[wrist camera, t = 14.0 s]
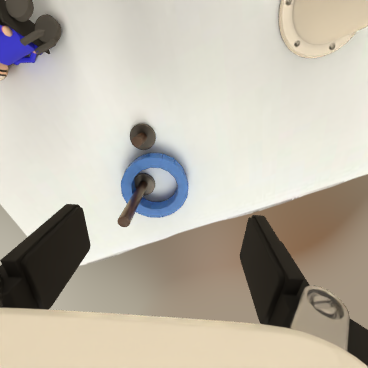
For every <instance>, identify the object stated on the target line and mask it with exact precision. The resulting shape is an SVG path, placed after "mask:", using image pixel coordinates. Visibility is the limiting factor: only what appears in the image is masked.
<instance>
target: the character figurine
mask: <svg viewBox="0 0 368 368" xmlns="http://www.w3.org/2000/svg"><path fill="white" fill-rule="evenodd" d="M33 9H34V7H33V2H32V0H6V1H5V0H0V81H1V80H3V79H4V78H5V77H6V76H7V74H8V65H11V64H15V65H19V64H20V63H30V62H32V63H34V62H35V59H36V55H37V54H38V55H41V54H42V53H43V52H46V53H48V54H50V51H49V49H50V48H52V47H54V46H55V45H56V43H57V42H58V40H59V39H60V37H61V27H60V24H59V23H58V22H57V21H56V20H55V19H54V18H53V17H52V16H50V15H42V16H40V17H39V18H38V19H37V21H36V23H35V24H34V23H32V22H31V21H30V20H29V18H30V17H31V16H32V14H33ZM30 53H31V54H30ZM28 54H30V57H25V56H26V55H28Z"/></svg>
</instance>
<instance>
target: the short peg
mask: <svg viewBox="0 0 368 368" xmlns="http://www.w3.org/2000/svg"><path fill="white" fill-rule="evenodd" d="M155 139H156V136H155V132H154V130H153V129H152V128H151V127H150V126H148V125H146V124H138V125H136V126H134V127H133V128H132V130H131V132H130V140H131V142H132V144H133V145H134V146H135V147H136V148H138V149H141V150H147V149H149V148H151V147H152V146H153V144H154V143H155Z"/></svg>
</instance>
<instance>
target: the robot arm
mask: <svg viewBox="0 0 368 368" xmlns="http://www.w3.org/2000/svg"><path fill="white" fill-rule="evenodd" d="M286 3H287V5H286ZM367 26H368V0H282V1H281V5H280V11H279V27H280V32H281V36H282V38H283V41H284V43H285V44H286V46H287V47H288V48H289V49H290V50H291V51H292V52H293V53H294V54H296V55H298V56H300V57H304V58H317V57H322V56H325V55H327V54H330V53H332V52H334V51H336V50H338V49H339V48H340V47H342V46H343V45H344V44H346V43H347V42H348V41H349V40H350V39H351V38H352V37H353V36H354V34H355V33H356V32H357V31H358V30H360V29H363V28H365V27H367ZM294 43H295V46H294ZM329 47H330V49H329ZM89 249H90V241H89V236H88V231H87V226H86V222H85V217H84V212H83V209H82V208H81V207H80V206H79V205H75V204H66V205H65V206H64V207H63V208H61V209H60V210H59V211H58V212H57V213H56V214H54V215H53V216H52V217H51V218H50V219H48V220H47V221H46V222H45V223H44V224H43V225H41V226H40V227H39V228H38V229H37V230H36V231H34V232H33V233H32V234H31V235H30V236H28V237H27V238H26V239H25V240H24V241H23V242H22V243H20V244H19V245H18V246H17V247H15V248H14V249H13V250H12V251H11V252H10V253H8V255H6V256H5V257H4V258H3V259H1V260H0V261H1V263H2V265H1V266H0V368H368V330H367V329H365V328H364V327H362V326H361V325H359V324H358V323H356V322H354V321H353V320H351V319H350V317H349V312H348V310H347V308H346V306H345V305H344V303H342V301H341V300H340V299H339V298H338V297H337V296H336V295H335V294H333V293H332V292H330V291H328V290H327V289H324V288H322V287H319V286H315V285H314V286H310V285H309V284H308V282H307V281H306V279H305V277H304V276H303V274H302V273H301V271H300V270H299V268H298V266H297V265H296V263H295V262H294V260H293V259H292V257H291V255H290V254H289V252H288V251H287V249H286V248H285V246H284V244H283V243H282V242H281V241H279V239H278V237H277V236H276V234H275V232H274V231H273V229H272V228H271V226H270V225H269V223H268V221H267V220H266V218H265V217H264V216H258V215H253V216H252V218H249V219H248V223H247V227H246V231H245V236H244V239H243V244H242V248H241V252H240V260H241V263H242V267H243V270H244V273H245V276H246V280H247V283H248V286H249V289H250V292H251V296H252V299H253V302H254V305H255V309H256V312H257V315H258V319H259V321H260V323H261V324H252V323H240V322H230V321H216V320H202V319H188V318H174V317H160V316H142V315H129V314H114V313H98V312H81V311H64V310H48V309H49V308H50V307H51V306H52V305H53V303H54V302H55V300H56V299H57V297H58V296H59V294H60V293H61V292H62V290H63V289H64V287H65V285H66V284H67V282H68V281H69V280H70V278H71V277H72V275H73V274H74V272H75V271H76V269H77V268H78V266H79V265H80V263H81V262H82V260H83V259H84V257H85V256H86V254H87V253H88V251H89ZM263 324H264V325H263Z"/></svg>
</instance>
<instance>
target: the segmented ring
mask: <svg viewBox="0 0 368 368" xmlns="http://www.w3.org/2000/svg"><path fill="white" fill-rule="evenodd" d="M150 167H151V168H161V169H164V170H166V171H168V172H169V173H170V174H171V175H172V176H173V177H174V178H175V179H176V182H177V184H178V185H177V189H176V191H175V193H174V195H173V196H172V197H170V198H169V199H168V200H165V201H162V202H151V201H149V200H146V199H144V198H143V197H142V199H141V201H140V203H139V205H138V207H137V209H136V212H138V213H139V214H141V215H144V216H147V217H164V216H167V215H170V214H172V213H174V212H175V211H177V210H178V209H179V208H180V207H181V206H182V205H183V203H184V202H185V200H186V198H187V195H188V181H187V177H186V174H185V171H184V169H183V167H182V166H181V165H180V164H179V163H178V162H177V161H176V160H174V158H172V157H170V156H167V155H165V154H163V156H162V153H148V154H145V155H143V156H140V157H138V158H136V159H135V160H134V161H133V162H132V163H131V164H130V165H129V167H128V168H127V169H126V171H125V173H124V176H123V178H122V181H121V190H122V195H123V197H124V199H125V201H126V203H128V202H129V200H130V198H131V197H132V195H133V193H134V192H135V190H136V188H135V176H136V175H137V174H138V173H139V172H140V171H142V170H145V169H147V168H150Z"/></svg>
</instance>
